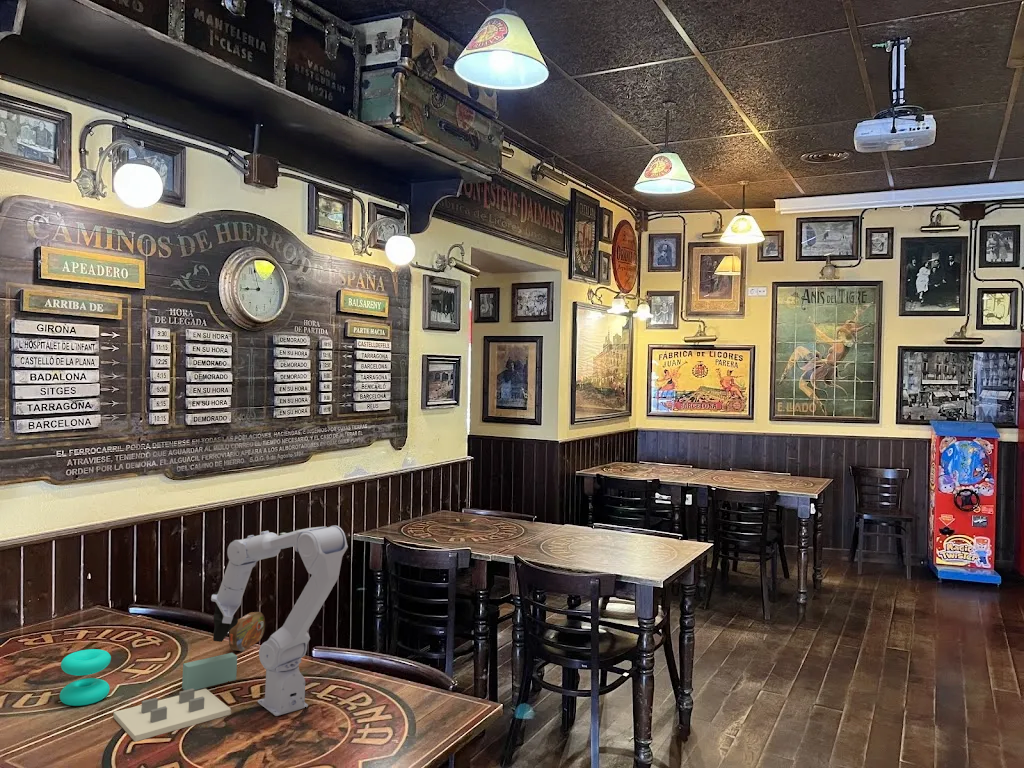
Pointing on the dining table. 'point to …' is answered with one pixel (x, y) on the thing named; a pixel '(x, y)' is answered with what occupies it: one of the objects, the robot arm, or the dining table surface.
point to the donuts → (89, 687)
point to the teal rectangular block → (209, 671)
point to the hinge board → (170, 713)
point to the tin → (247, 631)
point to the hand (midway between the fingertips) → (217, 630)
